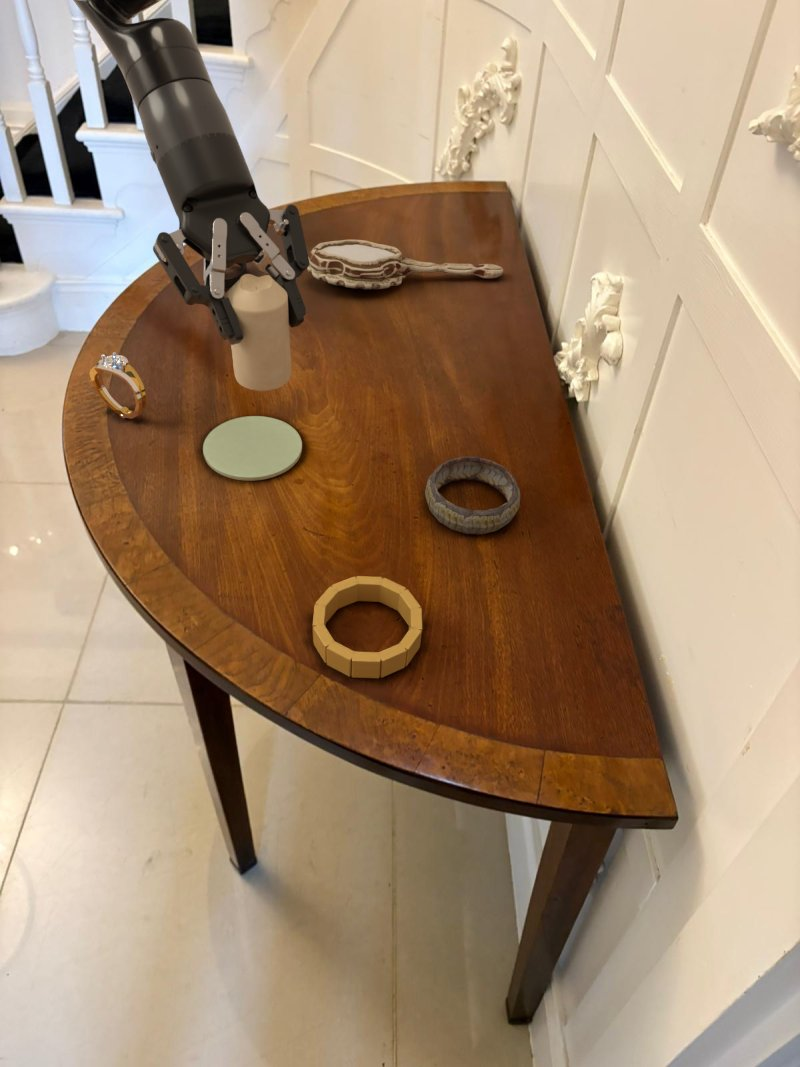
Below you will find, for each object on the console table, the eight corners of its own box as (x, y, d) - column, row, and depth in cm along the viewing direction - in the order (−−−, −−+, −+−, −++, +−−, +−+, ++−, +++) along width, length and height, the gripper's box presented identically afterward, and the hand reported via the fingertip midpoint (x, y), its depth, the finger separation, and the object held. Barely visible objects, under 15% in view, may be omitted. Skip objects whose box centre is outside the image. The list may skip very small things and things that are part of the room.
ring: (156, 420, 91) (144, 361, 86) (135, 434, 89) (122, 374, 84) (114, 398, 94) (100, 340, 88) (93, 411, 92) (77, 352, 86)
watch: (225, 265, 119) (223, 242, 116) (254, 270, 118) (252, 247, 116) (203, 288, 114) (199, 264, 111) (233, 294, 113) (230, 270, 110)
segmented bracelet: (344, 694, 67) (344, 677, 65) (296, 616, 72) (295, 598, 70) (439, 652, 70) (442, 635, 68) (387, 580, 76) (388, 562, 74)
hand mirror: (516, 280, 115) (313, 269, 108) (504, 311, 120) (309, 303, 113) (500, 233, 121) (306, 221, 114) (489, 265, 126) (302, 255, 119)
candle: (222, 374, 77) (211, 279, 70) (266, 353, 80) (259, 259, 72) (259, 399, 74) (251, 303, 67) (303, 376, 77) (299, 282, 70)
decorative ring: (534, 527, 82) (493, 467, 89) (539, 504, 80) (498, 445, 86) (445, 548, 79) (410, 485, 86) (448, 525, 77) (412, 462, 84)
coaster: (224, 492, 83) (224, 489, 83) (189, 434, 90) (188, 431, 90) (318, 463, 88) (318, 459, 87) (278, 409, 94) (278, 406, 94)
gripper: (123, 143, 63) (205, 342, 65) (281, 117, 70) (351, 300, 72) (112, 185, 70) (186, 365, 72) (257, 158, 76) (321, 325, 78)
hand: (268, 332), depth 72 cm, fingers closed on candle, 5 cm apart
